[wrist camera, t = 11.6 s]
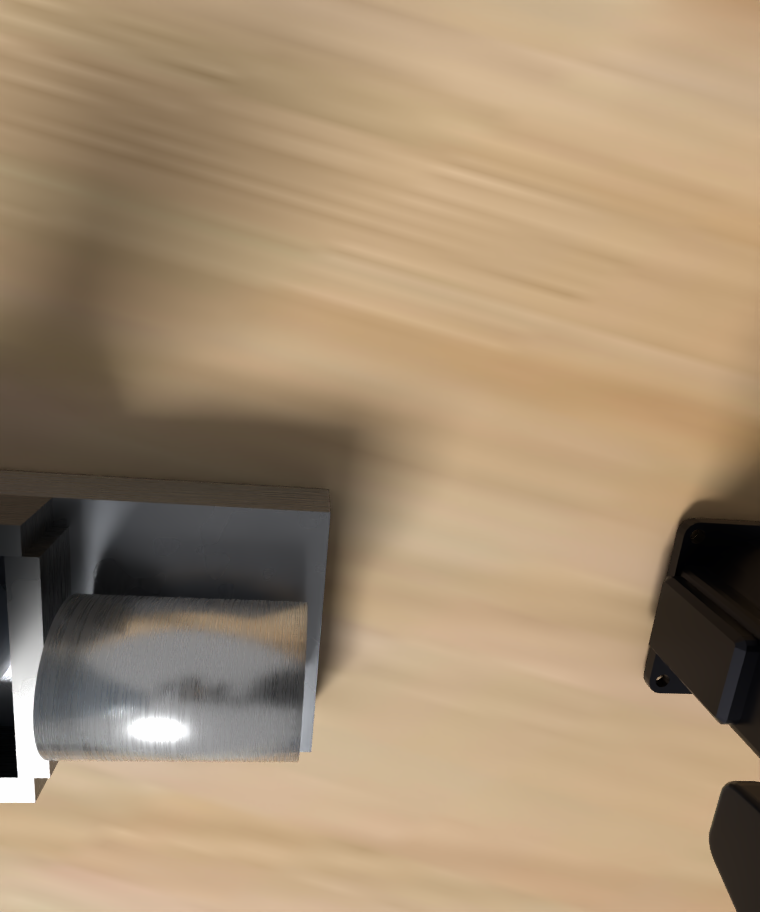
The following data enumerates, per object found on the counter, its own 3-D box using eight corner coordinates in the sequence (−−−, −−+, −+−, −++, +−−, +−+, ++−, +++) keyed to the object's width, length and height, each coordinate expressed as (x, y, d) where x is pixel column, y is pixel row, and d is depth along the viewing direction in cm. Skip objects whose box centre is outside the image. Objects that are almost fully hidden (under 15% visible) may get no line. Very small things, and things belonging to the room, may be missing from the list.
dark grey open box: (328, 489, 20) (335, 577, 14) (311, 710, 22) (311, 864, 16) (-206, 458, 18) (-444, 544, 12) (-169, 702, 20) (-358, 872, 15)
